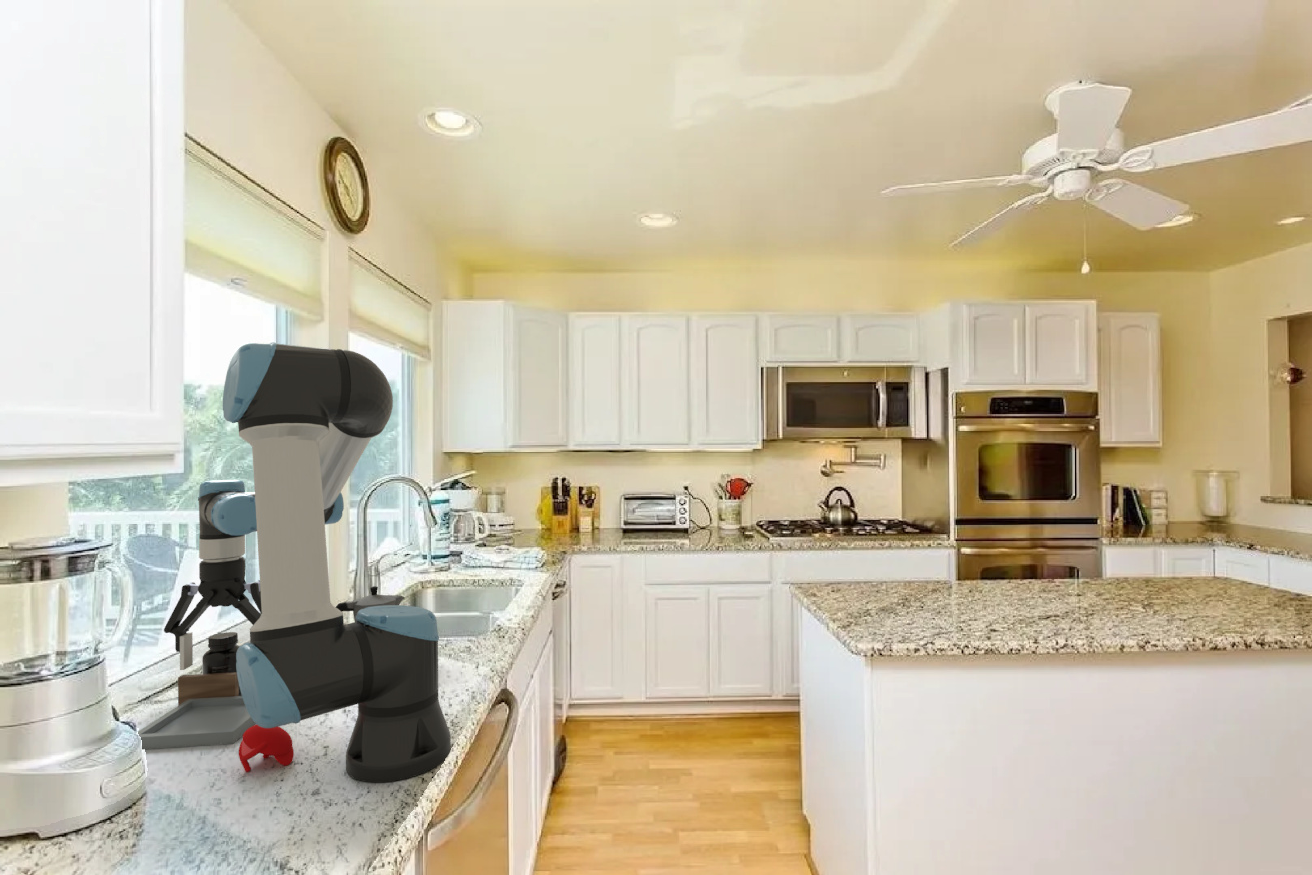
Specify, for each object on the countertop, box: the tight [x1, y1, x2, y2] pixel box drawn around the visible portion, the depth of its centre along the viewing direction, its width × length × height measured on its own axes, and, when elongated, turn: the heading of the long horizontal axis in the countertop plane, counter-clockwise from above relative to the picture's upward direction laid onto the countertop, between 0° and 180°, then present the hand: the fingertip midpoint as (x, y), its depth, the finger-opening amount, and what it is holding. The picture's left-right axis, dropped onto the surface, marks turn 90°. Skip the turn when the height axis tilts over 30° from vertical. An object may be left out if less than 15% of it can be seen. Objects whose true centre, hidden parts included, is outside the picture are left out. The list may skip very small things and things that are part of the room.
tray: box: [137, 695, 257, 750], centre depth 112 cm, size 16×16×2 cm
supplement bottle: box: [201, 631, 242, 696], centre depth 125 cm, size 7×7×12 cm
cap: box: [238, 724, 295, 773], centre depth 98 cm, size 8×6×6 cm
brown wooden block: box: [177, 672, 239, 706], centre depth 125 cm, size 11×10×6 cm
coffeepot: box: [335, 585, 405, 622], centre depth 139 cm, size 15×9×18 cm, turn 134°
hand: (223, 666), depth 126 cm, fingers open, 13 cm apart
